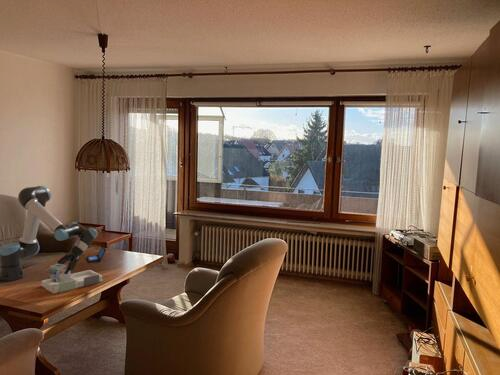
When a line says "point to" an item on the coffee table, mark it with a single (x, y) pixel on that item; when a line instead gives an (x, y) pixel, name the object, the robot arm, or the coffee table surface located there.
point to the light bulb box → (59, 273)
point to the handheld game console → (96, 256)
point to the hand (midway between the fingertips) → (56, 275)
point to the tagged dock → (73, 281)
